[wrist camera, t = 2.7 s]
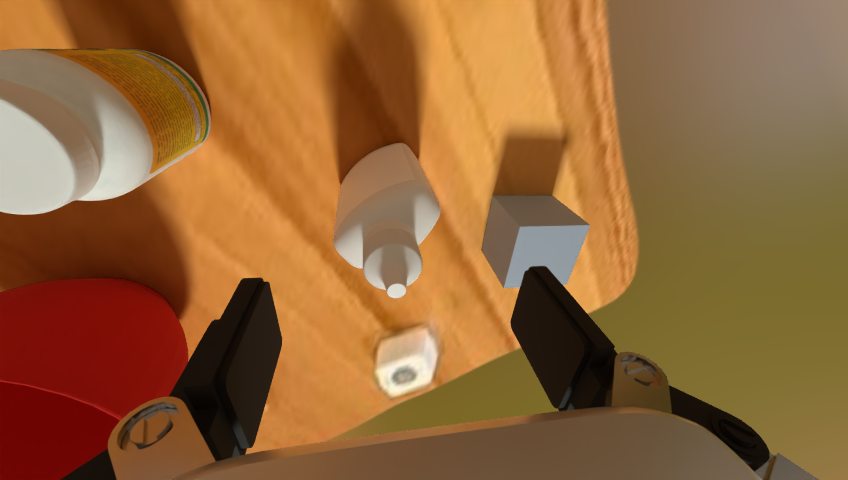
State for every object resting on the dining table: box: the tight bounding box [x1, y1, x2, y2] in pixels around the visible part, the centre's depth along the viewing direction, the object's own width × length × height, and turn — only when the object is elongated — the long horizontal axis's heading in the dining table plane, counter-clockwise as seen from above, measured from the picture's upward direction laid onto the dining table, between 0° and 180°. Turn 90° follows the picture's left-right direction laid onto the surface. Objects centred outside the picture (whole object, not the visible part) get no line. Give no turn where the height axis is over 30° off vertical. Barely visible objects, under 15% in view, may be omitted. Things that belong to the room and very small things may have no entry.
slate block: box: [482, 195, 590, 288], centre depth 24 cm, size 5×5×5 cm
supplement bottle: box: [0, 49, 211, 215], centre depth 13 cm, size 5×5×10 cm
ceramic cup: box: [0, 278, 188, 480], centre depth 19 cm, size 13×17×10 cm
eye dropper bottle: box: [333, 143, 441, 298], centre depth 16 cm, size 4×6×12 cm
